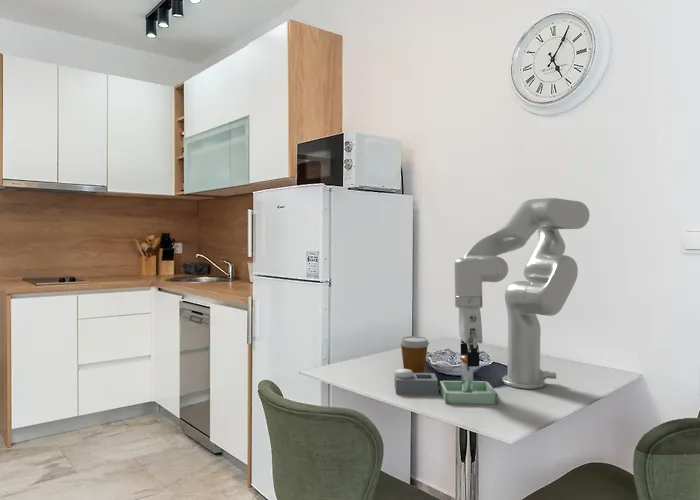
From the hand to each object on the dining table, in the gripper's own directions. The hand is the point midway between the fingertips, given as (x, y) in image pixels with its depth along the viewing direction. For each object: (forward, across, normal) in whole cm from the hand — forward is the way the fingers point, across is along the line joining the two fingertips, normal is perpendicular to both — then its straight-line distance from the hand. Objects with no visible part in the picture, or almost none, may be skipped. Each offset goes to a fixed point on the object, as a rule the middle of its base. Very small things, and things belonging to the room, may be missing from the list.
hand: (469, 361), depth 145 cm
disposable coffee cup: (+10, +21, +14) cm, 27 cm away
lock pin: (+9, -1, +1) cm, 9 cm away
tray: (+10, -1, +1) cm, 10 cm away
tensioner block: (+10, +5, +15) cm, 19 cm away
